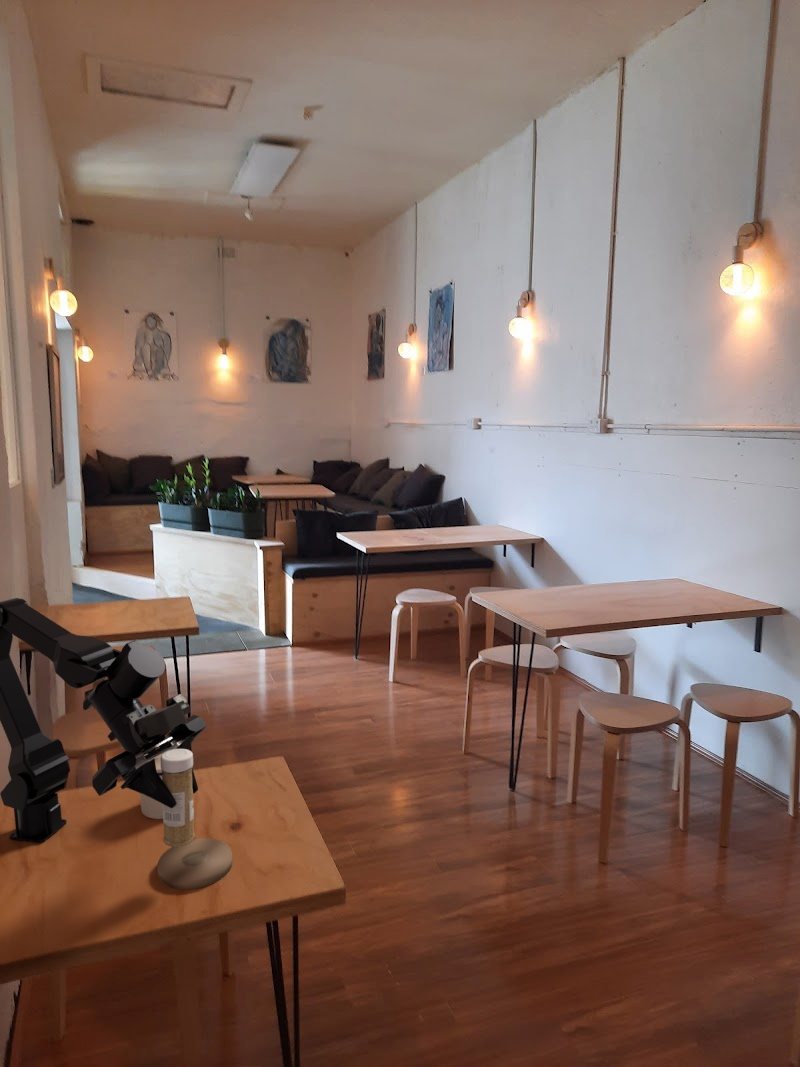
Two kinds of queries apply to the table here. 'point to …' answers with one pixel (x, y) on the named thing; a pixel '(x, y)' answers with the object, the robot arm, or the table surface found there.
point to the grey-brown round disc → (195, 864)
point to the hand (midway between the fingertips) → (185, 798)
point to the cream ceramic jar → (148, 804)
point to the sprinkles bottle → (178, 797)
